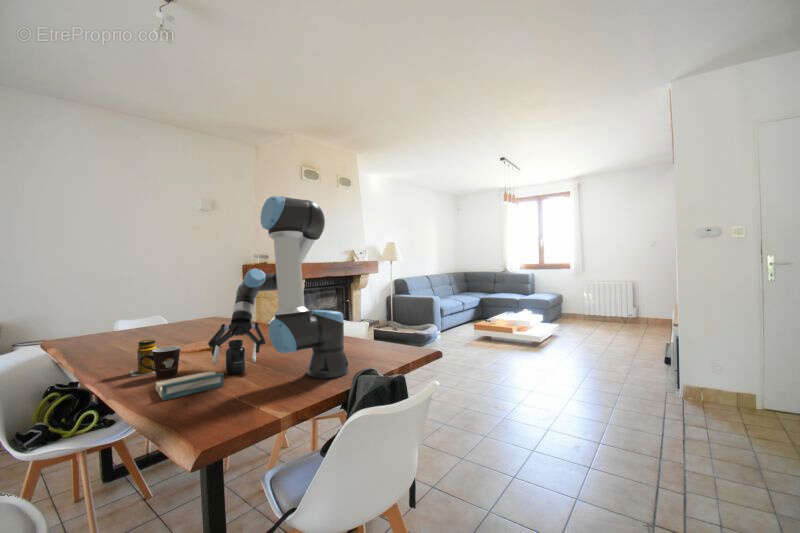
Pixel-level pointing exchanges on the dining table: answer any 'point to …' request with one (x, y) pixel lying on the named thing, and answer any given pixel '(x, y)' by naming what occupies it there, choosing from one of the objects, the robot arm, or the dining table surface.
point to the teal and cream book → (189, 384)
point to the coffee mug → (165, 361)
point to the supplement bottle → (235, 358)
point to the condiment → (144, 350)
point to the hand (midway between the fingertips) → (234, 361)
